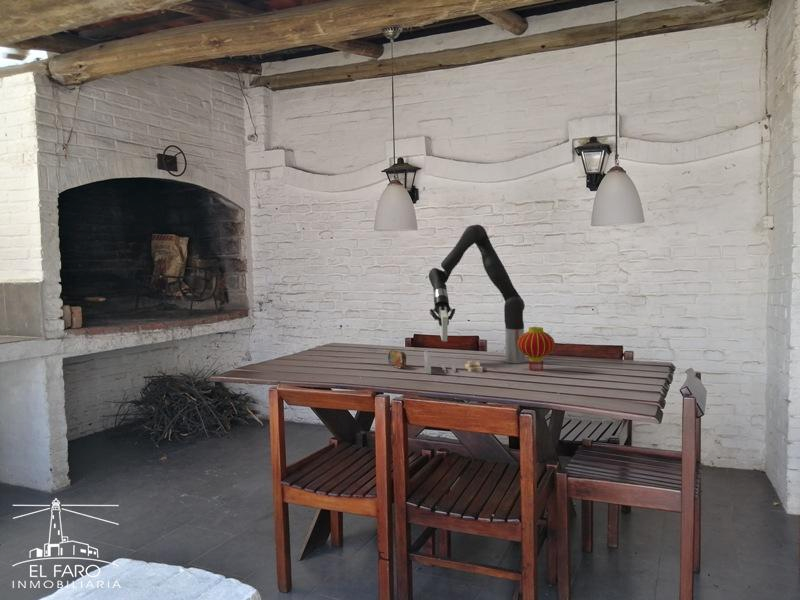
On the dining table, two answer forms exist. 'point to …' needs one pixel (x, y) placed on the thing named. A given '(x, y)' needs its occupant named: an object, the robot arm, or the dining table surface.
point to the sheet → (444, 325)
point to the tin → (397, 358)
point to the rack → (428, 363)
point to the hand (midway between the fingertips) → (444, 325)
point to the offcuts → (473, 366)
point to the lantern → (536, 346)
